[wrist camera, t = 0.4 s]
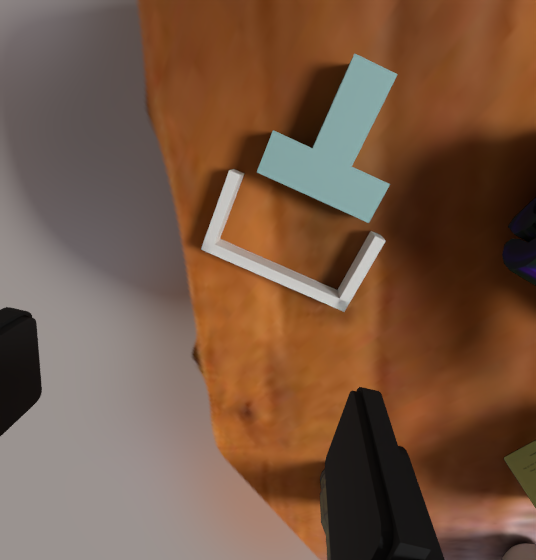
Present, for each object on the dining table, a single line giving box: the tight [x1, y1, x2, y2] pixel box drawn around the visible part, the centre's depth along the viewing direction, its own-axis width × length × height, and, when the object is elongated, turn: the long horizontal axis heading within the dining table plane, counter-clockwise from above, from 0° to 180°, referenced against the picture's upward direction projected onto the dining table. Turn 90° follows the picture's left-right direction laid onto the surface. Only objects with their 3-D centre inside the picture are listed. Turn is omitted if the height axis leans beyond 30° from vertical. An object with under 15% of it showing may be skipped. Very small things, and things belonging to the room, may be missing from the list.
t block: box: [257, 54, 398, 223], centre depth 32 cm, size 12×12×4 cm
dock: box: [201, 169, 386, 312], centre depth 36 cm, size 9×17×2 cm, turn 67°
